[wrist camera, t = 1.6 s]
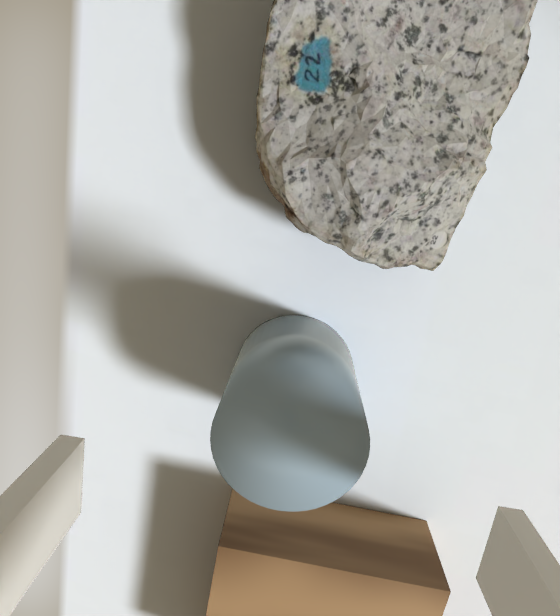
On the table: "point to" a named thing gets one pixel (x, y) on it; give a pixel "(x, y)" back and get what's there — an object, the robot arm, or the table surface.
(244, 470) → the grey rounded cylinder
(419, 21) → the rock
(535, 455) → the table surface
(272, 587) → the walnut block
